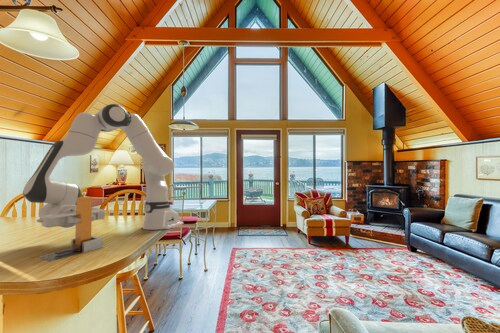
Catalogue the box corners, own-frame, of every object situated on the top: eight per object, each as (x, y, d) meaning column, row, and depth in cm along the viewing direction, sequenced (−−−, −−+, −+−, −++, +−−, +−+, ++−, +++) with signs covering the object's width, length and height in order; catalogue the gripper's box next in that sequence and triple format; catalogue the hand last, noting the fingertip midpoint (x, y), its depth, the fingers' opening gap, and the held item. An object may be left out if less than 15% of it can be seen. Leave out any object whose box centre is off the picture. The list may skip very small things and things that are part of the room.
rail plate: (90, 245, 96) (90, 243, 96) (103, 249, 92) (103, 247, 92) (37, 258, 81) (37, 256, 81) (49, 263, 77) (49, 261, 77)
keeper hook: (89, 244, 96) (89, 235, 96) (102, 247, 91) (102, 238, 91) (71, 248, 90) (71, 239, 90) (83, 252, 86) (84, 242, 86)
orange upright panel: (86, 245, 93) (87, 196, 93) (93, 247, 90) (94, 197, 91) (52, 253, 83) (54, 199, 84) (59, 256, 81) (61, 199, 82)
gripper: (34, 211, 87) (53, 215, 80) (93, 205, 105) (113, 207, 98) (34, 229, 86) (52, 234, 80) (93, 219, 104) (112, 223, 98)
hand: (86, 219), depth 89 cm, fingers closed on orange upright panel, 4 cm apart
